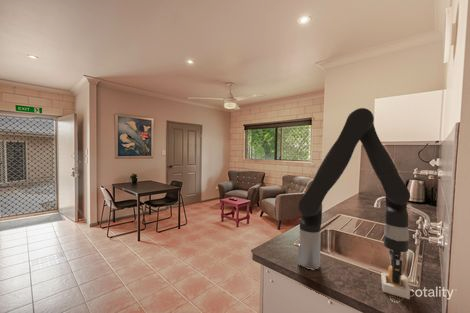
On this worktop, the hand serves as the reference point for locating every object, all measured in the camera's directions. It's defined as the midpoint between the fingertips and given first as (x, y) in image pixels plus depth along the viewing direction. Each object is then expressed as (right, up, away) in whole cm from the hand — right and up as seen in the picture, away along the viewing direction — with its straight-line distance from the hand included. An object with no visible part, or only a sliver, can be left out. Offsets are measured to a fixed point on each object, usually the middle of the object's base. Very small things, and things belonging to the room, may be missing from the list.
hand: (394, 278), depth 82 cm
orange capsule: (0, -4, 0) cm, 4 cm away
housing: (0, -4, 0) cm, 4 cm away
